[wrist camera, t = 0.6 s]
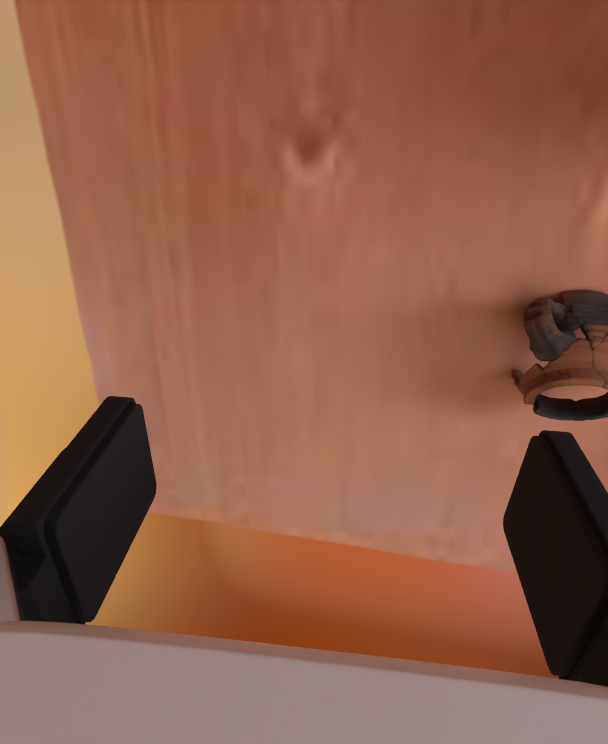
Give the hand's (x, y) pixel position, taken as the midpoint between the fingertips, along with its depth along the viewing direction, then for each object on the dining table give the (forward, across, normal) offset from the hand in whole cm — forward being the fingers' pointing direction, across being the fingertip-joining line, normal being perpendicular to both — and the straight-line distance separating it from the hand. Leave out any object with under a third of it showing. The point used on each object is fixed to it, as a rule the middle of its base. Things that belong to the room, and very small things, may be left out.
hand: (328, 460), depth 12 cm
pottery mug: (+30, -18, +10) cm, 36 cm away
